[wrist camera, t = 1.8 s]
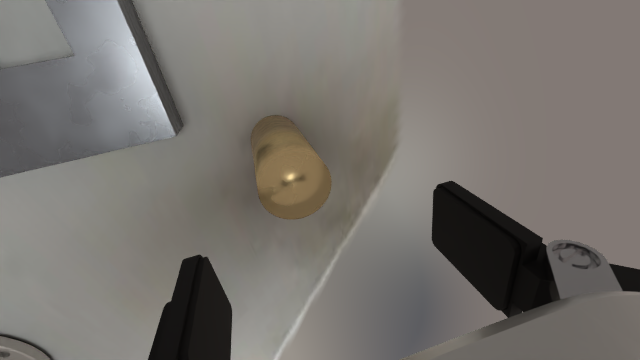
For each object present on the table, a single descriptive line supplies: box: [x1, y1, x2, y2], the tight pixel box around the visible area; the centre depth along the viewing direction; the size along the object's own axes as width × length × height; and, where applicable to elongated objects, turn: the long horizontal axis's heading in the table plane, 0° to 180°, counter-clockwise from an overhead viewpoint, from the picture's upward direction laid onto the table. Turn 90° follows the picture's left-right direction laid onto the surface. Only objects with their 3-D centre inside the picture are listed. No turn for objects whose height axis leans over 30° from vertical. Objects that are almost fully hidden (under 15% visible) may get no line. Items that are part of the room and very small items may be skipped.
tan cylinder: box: [251, 115, 331, 219], centre depth 21 cm, size 4×4×10 cm
